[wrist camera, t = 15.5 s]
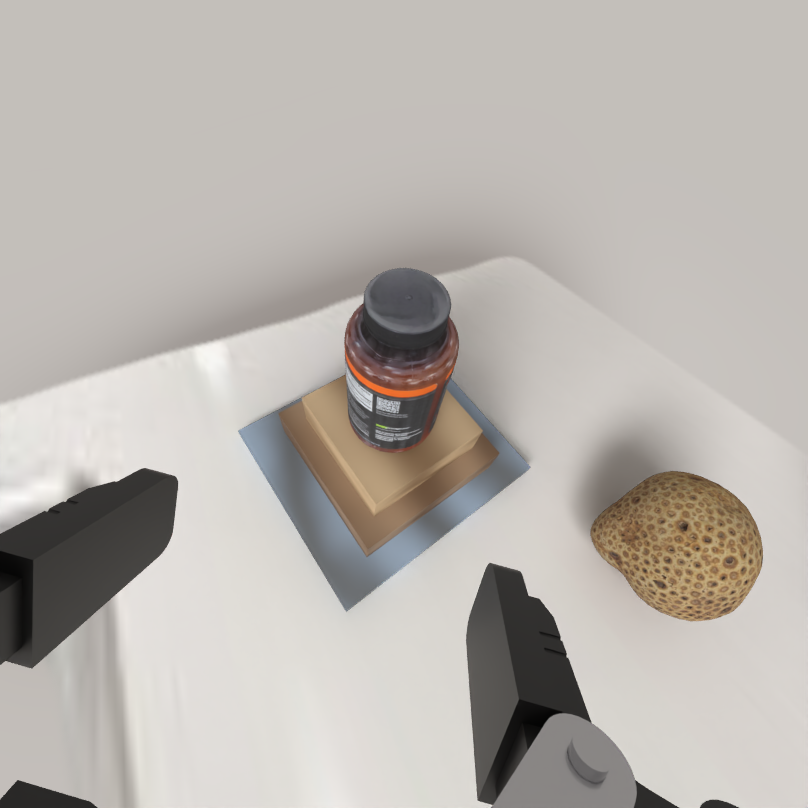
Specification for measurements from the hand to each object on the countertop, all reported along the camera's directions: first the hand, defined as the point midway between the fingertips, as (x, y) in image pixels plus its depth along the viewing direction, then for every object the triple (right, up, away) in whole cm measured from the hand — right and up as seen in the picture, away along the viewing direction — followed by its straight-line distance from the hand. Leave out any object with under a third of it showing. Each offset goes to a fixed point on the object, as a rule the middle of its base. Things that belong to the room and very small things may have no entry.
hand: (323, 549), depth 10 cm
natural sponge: (+20, -9, +22) cm, 31 cm away
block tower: (+1, -1, +24) cm, 24 cm away
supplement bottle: (+1, +3, +18) cm, 18 cm away
